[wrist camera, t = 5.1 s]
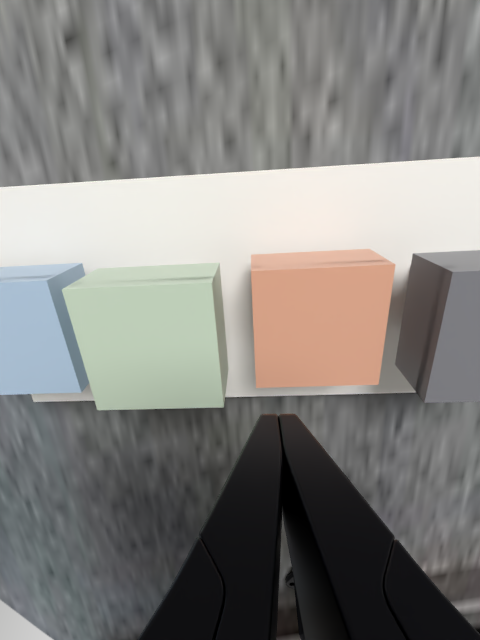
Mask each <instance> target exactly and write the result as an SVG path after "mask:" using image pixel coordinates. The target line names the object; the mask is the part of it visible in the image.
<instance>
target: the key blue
mask: <svg viewBox="0 0 480 640" xmlns="http://www.w3.org/2000/svg"><path fill="white" fill-rule="evenodd" d="M84 276H85V272H84V268H83V264H82V263H70V264H50V265H30V266H10V267H0V395H8V394H47V393H82V391H83V390H84V389H85V388H86V386H87V385H88V384H89V380H88V377H87V373H86V370H85V367H84V363H83V360H82V356H81V353H80V350H79V346H78V343H77V340H76V336H75V333H74V330H73V326H72V323H71V319H70V316H69V313H68V309H67V306H66V303H65V299H64V296H63V292H62V289H63V288H65V287H67V286H68V285H70V284H72V283H74V282H75V281H77V280H79V279H80V278H82V277H84Z"/></svg>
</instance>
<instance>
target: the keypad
mask: <svg viewBox="0 0 480 640" xmlns="http://www.w3.org/2000/svg"><path fill="white" fill-rule="evenodd" d="M354 249H371V250H372V251H374V252H376V253H377V254H379V255H381V256H382V257H384V258H386V259H387V260H389V261H391V262H392V263H394V264H396V265H395V272H394V279H393V286H392V293H391V300H390V307H389V314H388V321H387V328H386V335H385V342H384V349H383V356H382V363H381V371H380V378H379V385H349V386H311V387H273V388H256V375H255V352H254V330H253V307H252V285H251V255H253V254H273V253H293V252H313V251H334V250H354ZM471 250H480V157H467V158H452V159H436V160H421V161H405V162H389V163H374V164H358V165H342V166H327V167H311V168H295V169H280V170H264V171H249V172H233V173H217V174H202V175H186V176H170V177H155V178H139V179H124V180H108V181H92V182H77V183H61V184H45V185H30V186H14V187H0V267H10V266H30V265H50V264H70V263H82V264H83V268H84V272H85V276H86V275H87V274H89V273H91V272H92V271H94V270H96V269H98V268H118V267H138V266H159V265H180V264H200V263H220V274H221V286H222V297H223V309H224V321H225V333H226V345H227V357H228V369H229V370H228V378H227V386H226V394H225V397H255V396H296V395H336V394H376V393H416V391H415V390H414V389H413V387H412V386H411V385H410V383H409V382H408V381H407V379H406V378H405V377H404V376H403V374H402V373H401V372H400V370H399V369H398V368H397V366H396V365H395V360H396V354H397V348H398V342H399V336H400V330H401V323H402V317H403V311H404V305H405V299H406V292H407V286H408V280H409V274H410V268H411V261H412V255H413V253H430V252H451V251H471ZM31 396H32V398H33V401H34V402H53V401H94V397H93V393H92V390H91V387H90V383H89V384H88V385H87V386H86V388H85V389H84V390H83V391H82V393H47V394H31Z"/></svg>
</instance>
